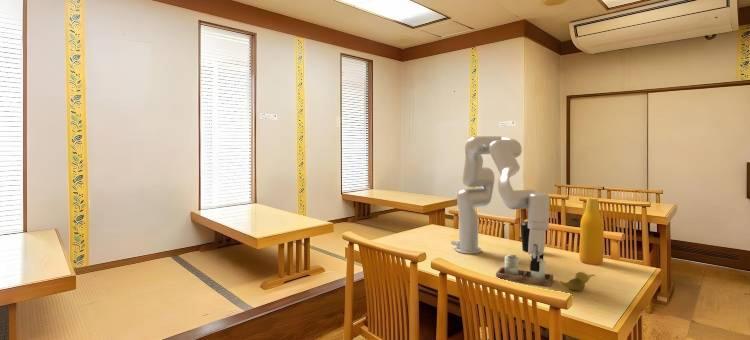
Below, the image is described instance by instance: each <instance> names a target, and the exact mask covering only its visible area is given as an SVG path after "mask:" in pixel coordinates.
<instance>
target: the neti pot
mask: <svg viewBox="0 0 750 340" xmlns="http://www.w3.org/2000/svg"><path fill="white" fill-rule="evenodd" d="M595 276H596V275H595V274H590V275H589V274H587V273H585V272H582V271H578V272H577V273H576V274H575V278H574V277H573V278H571V279H570V280H568V281H566V282H565V281H562V280H559V283H560V284H561V285H562V286H565V287H566V288H567V289H570V290H572V291H583V290H584V289H585V287H586V284H587V283H588V282H589V280H590V279H591V278H592V277H595Z"/></svg>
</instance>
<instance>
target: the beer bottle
mask: <svg viewBox="0 0 750 340" xmlns="http://www.w3.org/2000/svg"><path fill="white" fill-rule="evenodd" d="M604 225H605V223H604V219H603V217H602V214H601V213H600V206H599V198H597V197H587V199H586V205H585V209H584V213H583V215H582V216H581V219H580V226H579V227H580V230H579V231H580V232H579V235H580V236H579V260H580V262H581V263H584V264H587V265H593V266H599V265H602V264H603V263H604V227H605V226H604Z"/></svg>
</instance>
